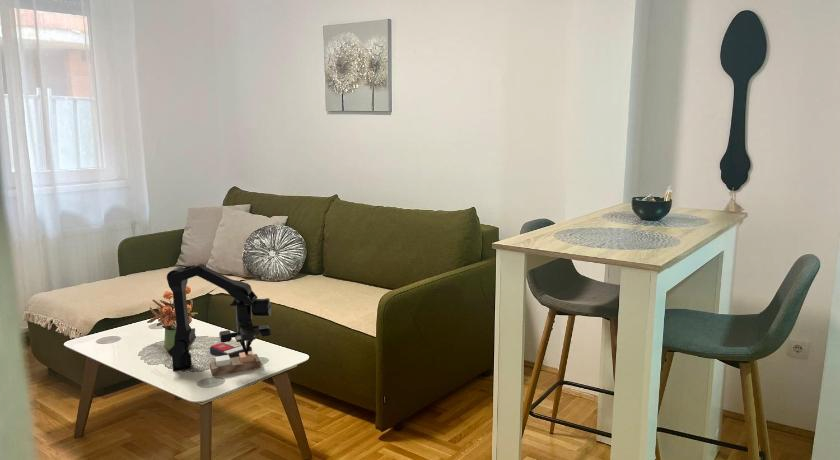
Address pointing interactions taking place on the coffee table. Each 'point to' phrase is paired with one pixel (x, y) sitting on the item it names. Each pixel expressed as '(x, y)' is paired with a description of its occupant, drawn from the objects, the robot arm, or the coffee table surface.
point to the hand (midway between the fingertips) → (246, 354)
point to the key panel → (235, 366)
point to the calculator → (228, 349)
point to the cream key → (222, 360)
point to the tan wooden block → (246, 357)
